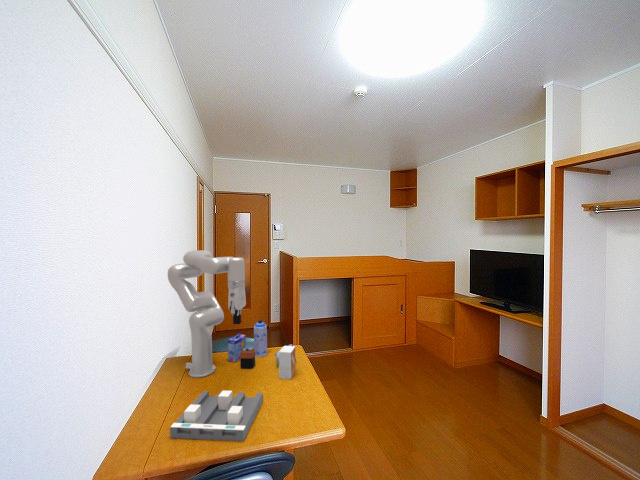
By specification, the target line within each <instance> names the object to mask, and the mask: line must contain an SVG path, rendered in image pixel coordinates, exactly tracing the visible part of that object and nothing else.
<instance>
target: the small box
mask: <svg viewBox="0 0 640 480" xmlns="http://www.w3.org/2000/svg"><path fill="white" fill-rule="evenodd" d="M295 358H296V346H295V345H293V346H288V345H287V346H286V345H284V346H283V347H282V348H281V349H280V351H279V365H278V370H279V371H278V375H279V376H278V378H279V379H284V380H292V379H293V377H294V375H295V373H296V372H297V371H296V370H297V369H296V367H297V366H296V363H297V360H296V359H295Z"/></svg>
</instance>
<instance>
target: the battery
mask: <svg viewBox="0 0 640 480" xmlns="http://www.w3.org/2000/svg"><path fill="white" fill-rule="evenodd" d="M239 363H240V369H241V370H242V369H243V370H246V369H247V370H253V369H254V368H255V366H256V357H255V349H254V347H248V348H246V347H245V348H243V349H242V351H241V352H240V362H239Z"/></svg>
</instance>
